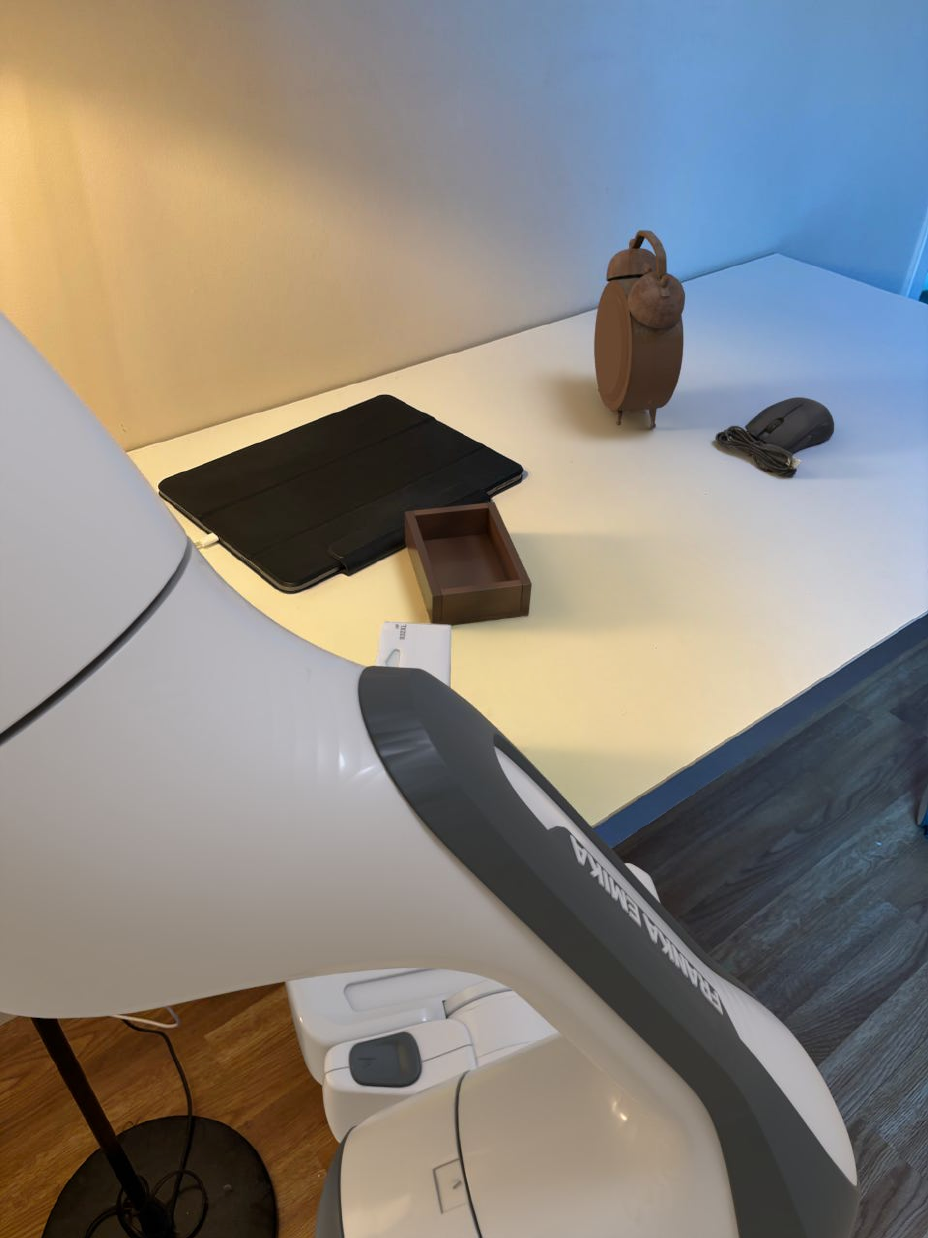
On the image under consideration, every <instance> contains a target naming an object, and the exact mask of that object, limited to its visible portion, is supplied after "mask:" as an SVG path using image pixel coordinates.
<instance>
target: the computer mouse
mask: <svg viewBox="0 0 928 1238" xmlns="http://www.w3.org/2000/svg"><path fill="white" fill-rule="evenodd" d="M834 433H835V421H834V417H833V415H832V413H831V412H830V410H829V409H828V407H826V406H825V405H824V404H822V403H820V402H819V401H817V400H814V399H811V398H807V397H802V396H801V397H797V396H796V397H791V398H787V399H784V400H782V401H779V402H776V403H774V404H772V405H770V406H768V407H766V408H764V409H763V410H762V411H760V412H759V413H757V414H756V415H755V416H754V417H753V418H752V419H750V421H749V422H748V423H747V424H746V425H745V426H744V427H741V426H738V425H730V426H729V427H727V428H726V429H724V430H723V431H719V432H718V433H716V434H715V437H714V438H715V441H716V443H718V445H720V446H721V447H724V448H728V449H731V450H735V451H739V452H745V453H747V454H748V457H752V458H753V461H754V463H755V465H756V466H757V467H758V468H759V469H760V470H761V471H763V472H768V473H769V472H773V473H775V474H777V475H778V476H780V477H781V476H782V477H792V476H795V474H796V473H797V471H798V470H797V469H798V467H799V465H800V464H802V462H803V460H801V459H799V458H797V457H796V456H794V453H796V452H798V451H799V450H801V449H804V448H807V447H810V446H813V445H817V444H820V443H823V442H825V441H827V440H828V439H830V438H831V437H832V436H833V435H834ZM758 462H759V463H758ZM760 463H761V465H762V466H761V465H760ZM763 466H764V467H763Z"/></svg>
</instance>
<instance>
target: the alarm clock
mask: <svg viewBox="0 0 928 1238" xmlns="http://www.w3.org/2000/svg"><path fill="white" fill-rule="evenodd" d="M645 240H646V241H647V242H648V243H649V244H650V246H651V248H652V250H653V252H652V251H651V250H649V249H647V248H642V245H643V243H644V241H645ZM667 265H668V262H667V253H666V250H665V247H664V245H663V243H662V241H661V240H660V238H659V237H658V236H657V235H656V234H655V233H654V232H653V231H651V230H647V229H643V230H638V231H637V232H636V233H635V237H634V238H631V239H630V240H629V242H628V248H626V249H623V250H620V251H618V252H616V253H615V254H614V255H613V256H612V257H611V258H610V260H609V262H608V265H607V269H606V277H605V281H606V282H607V284H606V285H605V286H604V288H603V290H602V292H601V294H600V299H599V301H598V302H599V303H598V307H597V311H596V317H595V324H594V325H595V326H594V339H593V357H594V370H595V378H596V382H597V389H598V390H597V391H598V392H599V395H600V398H601V400H602V403H603V405H604V406H605V407H606V409H608V410H609V411H612V412H616V422H615V425H616V426H617V427H618V426H621V425H622V417H623V413H624V412H627V413H628V412H629V413H635V412H636V413H637V412H644V411H648V414H649V421H650V424H649V427H650V429H655V428H656V426H657V425H656V417H657V410H658V409H661V408H663V407H665V406H666V405H667V404H668V403H669V402H670V400H671V399H672V397H673V395H674V393H675V390H676V387H677V385H678V382H679V380H680V375H681V371H682V365H683V358H684V343H685V342H684V341H685V340H684V337H685V335H684V323H683V313H684V310H685V304H686V303H685V302H686V292H685V290H684V286H683V284H682V283H681V282H680V280H679V279H678V278H677V277H675V276H674V275H673V274H671V273H668V268H667V267H668V266H667Z"/></svg>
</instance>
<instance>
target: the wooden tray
mask: <svg viewBox="0 0 928 1238" xmlns="http://www.w3.org/2000/svg"><path fill="white" fill-rule="evenodd" d="M404 543H405V545H406V548H407V549H406V550H407V552H408V555H409V558H410V562H411V564H412V568H413V572H414V575H415V579H416V581H417V584H418V587H419V591H420V594H421V597H422V600H423V603H424V606H425V609H426V613H427V616H428V619H429V622H430V624H443V625H451V626H455V625H464V624H469V623H477V622H485V621H493V620H501V619H509V618H516V617H524V616H529V615H530V606H531V595H532V585H533V584H532V583H533V582H532V581H531V579H530V577H529V574H528V573H527V570H526V568H525V566H524V564H523V561H522V560H521V557H520V554H519V553H518V551H517V548H516V546H515V544H514V541H513V540H512V538H511V535H510V533H509V530H508V528H507V527H506V524H505V522H504V520H503V518H502V515H501V513H500V511H499V509H498V507H497V504H496V502H495V501H492V502H491V501H489V502H483V503H481V502H480V503H471V504H464V505H463V504H461V505H455V506H453V505H452V506H445V507H435V508H434V507H433V508H425V509H417V510H407V511H404Z"/></svg>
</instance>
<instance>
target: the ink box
mask: <svg viewBox="0 0 928 1238" xmlns="http://www.w3.org/2000/svg"><path fill="white" fill-rule="evenodd" d="M378 636H379V637H378V643H377V654H376V657H375V664H374V666H387V667H403V668H419V669H422V670H425V671H427V672H428V673H430V674H432V675H433V676H434V677H436V678H437V679H439V680H440V681H442V682H443V683H444V684H446V685H447V686H449V687H450V688H452V687H451V685H452V683H451V680H452V679H451V678H452V625H443V624H431V623H425V622H424V623H422V622H406V621H387V620H384V621H383V623H382V625H381V626H380V629H379V635H378Z"/></svg>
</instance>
